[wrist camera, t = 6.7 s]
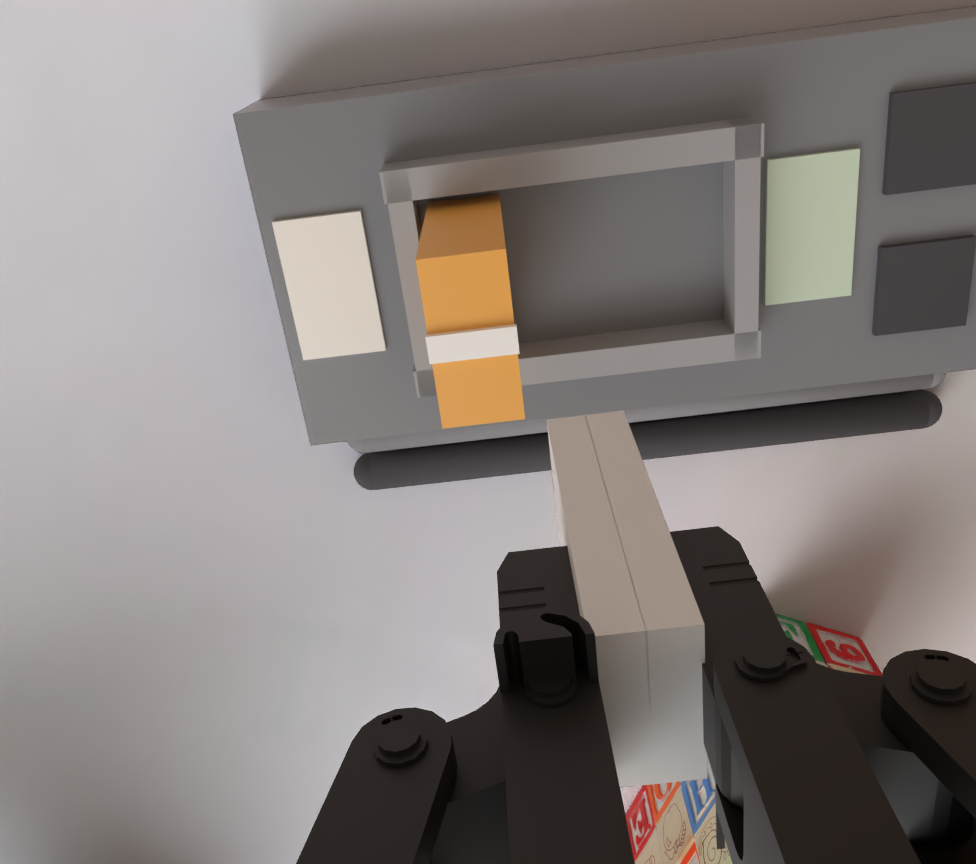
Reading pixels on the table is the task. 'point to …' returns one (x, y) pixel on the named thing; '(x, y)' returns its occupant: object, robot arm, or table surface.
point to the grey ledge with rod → (658, 431)
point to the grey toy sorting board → (638, 220)
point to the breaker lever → (469, 312)
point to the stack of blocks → (692, 804)
